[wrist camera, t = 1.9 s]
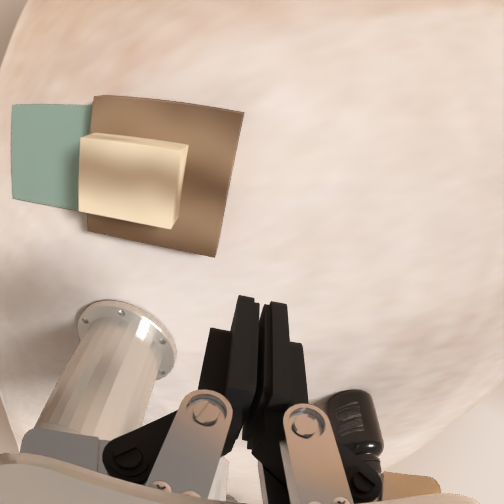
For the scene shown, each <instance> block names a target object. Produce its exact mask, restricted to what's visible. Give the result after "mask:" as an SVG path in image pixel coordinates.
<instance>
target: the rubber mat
mask: <svg viewBox="0 0 504 504" xmlns="http://www.w3.org/2000/svg"><path fill="white" fill-rule="evenodd" d="M92 109H93V106H89V105H63V104H20V105H13V108H12V128H11V169H12V189H13V198H14V199H20V200H25V201H30V202H35V203H41V204H46V205H51V206H56V207H61V208H66V209H71V210H77V211H79V155H80V138H81V137H84V136H87V135H90V129H91V119H92Z"/></svg>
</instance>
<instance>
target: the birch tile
mask: <svg viewBox="0 0 504 504" xmlns="http://www.w3.org/2000/svg"><path fill="white" fill-rule="evenodd" d="M188 146H189V145H187V144H181V143H174V142H168V141H161V140H154V139H147V138H139V137H131V136H123V135H114V134H104V133H93V134H90V135H87V136H84V137H81V138H80V155H79V211H80V212H85V213H90V214H95V215H101V216H106V217H111V218H116V219H121V220H126V221H131V222H136V223H141V224H146V225H151V226H156V227H161V228H166V229H171V228H172V227H173V225H174V223H175V222H176V220H177V219H178V216H179V208H180V200H181V193H182V186H183V178H184V172H185V165H186V158H187V152H188Z"/></svg>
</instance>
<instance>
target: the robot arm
mask: <svg viewBox="0 0 504 504" xmlns="http://www.w3.org/2000/svg"><path fill="white" fill-rule="evenodd" d="M259 306H260V304H259V303H255V302H254V298H251V297H246V296H241V295H239V296H238V300H237V304H236V309H235V313H234V317H233V322H232V326H231V330H230V331H226V330H221V329H216V328H210V332H209V337H208V342H207V347H206V352H205V356H204V361H203V366H202V371H201V376H200V381H199V386H198V390H196V391H193V392H191V393H189V394H188V395H186V396H185V398H184V399H183V400H182V402H181V404H180V407H179V409H178V410H177V411H175V412H173V413H171V414H168V415H166V416H164V417H162V418H160V419H158V420H156V421H153V422H151V423H149V424H147V425H145V426H142V427H141V425H142V422H143V418H144V415H145V412H146V409H147V405H148V402H149V399H150V396H151V392H152V389H153V386H154V383H155V380H159V379H161V378H163V377H165V376H167V375H168V374H169V373H170V372H171V370H172V368H173V367H174V364H175V360H176V347H175V343H174V341H173V339H172V337H171V335H170V334H169V332H168V331H167V329H166V328H165V327H164V326H163V325H162V324H161V323H160V322H159V321H158V320H156V319H155V318H154V317H153V316H151V315H150V314H148V313H147V312H145V311H143V310H142V309H140V308H137V307H135V306H133V305H130V304H127V303H124V302H119V301H112V300H110V301H100V302H96V303H93V304H92V305H90V306H88V307H87V308H86V309H85V310H84V312H83V313H82V314H81V316H80V318H79V321H78V325H77V331H78V336H79V339H80V343H79V345H78V347H77V348H76V350H75V352H74V353H73V355H72V357H71V359H70V360H69V362H68V364H67V366H66V368H65V369H64V371H63V373H62V375H61V377H60V378H59V380H58V382H57V384H56V386H55V388H54V389H53V391H52V393H51V395H50V397H49V399H48V401H47V403H46V405H45V407H44V409H43V411H42V413H41V415H40V417H39V419H38V421H37V423H36V425H35V427H34V429H31V430H29V431H28V432H27V433H26V434H25V435H24V437H23V440H22V444H21V449H20V453H3V454H0V504H246V503H236V502H227V501H219V500H212V499H208V496H209V493H210V489H211V486H212V483H213V480H214V476H215V473H216V470H217V467H218V463H219V460H220V458H221V457H223V456H224V455H226V454H227V453H229V452H231V450H232V448H233V445H234V443H235V440H236V439H237V438H238V436H239V433H240V431H241V428H242V426H243V431H242V440H245V441H247V449H251V450H252V455H253V456H254V457H255V458H256V459H257V460H258V471H259V478H260V485H261V492H262V499H263V504H480V503H479V502H477V501H475V500H474V499H472V498H469V497H466V496H462V495H458V494H450V493H447V494H446V493H441V489H440V485H439V484H438V483H437V481H436V480H435V479H433V478H431V477H428V476H418V475H407V474H399V473H391V472H383V473H382V474H381V473H377V472H376V471H375V470H374V469H373V468H372V467H371V466H369V465H368V464H367V463H365V462H364V461H363V460H362V459H360V458H359V457H358V456H356V455H355V454H354V453H353V452H351V451H350V450H349V449H348V448H346V447H345V446H344V445H343V444H341V443H340V442H339V441H338V440H336V439H335V437H334V434H333V430H332V427H331V424H330V421H329V419H328V417H327V415H326V414H325V413H324V412H323V411H322V410H321V409H319V408H318V407H316V406H313V405H311V404H309V403H308V393H307V383H306V373H305V363H304V354H303V347H302V344H301V343H295V342H290V338H289V324H288V311H287V304H283V303H278V302H273V301H271V302H270V305H266V304H264V307H263V310H262V313H261V317H260V320H259Z"/></svg>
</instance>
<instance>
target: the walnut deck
mask: <svg viewBox="0 0 504 504" xmlns="http://www.w3.org/2000/svg"><path fill="white" fill-rule="evenodd" d="M243 117H244V112H239V111H233V110H228V109H222V108H216V107H210V106H204V105H197V104H191V103H183V102H176V101H167V100H159V99H149V98H138V97H126V96H111V95H102V96H94V101H93V109H92V119H91V129H90V134H93V133H104V134H114V135H123V136H131V137H139V138H147V139H154V140H161V141H168V142H174V143H181V144H187V145H189V146H188V152H187V158H186V165H185V172H184V178H183V186H182V193H181V200H180V208H179V216H178V219H177V220H176V222H175V223H174V225H173V227H172V228H171V229H166V228H161V227H156V226H151V225H146V224H141V223H136V222H131V221H126V220H121V219H116V218H111V217H106V216H101V215H95V214H90V213H87V226H88V231H91V232H95V233H100V234H104V235H109V236H114V237H118V238H123V239H128V240H133V241H137V242H142V243H147V244H152V245H156V246H161V247H166V248H171V249H175V250H180V251H185V252H190V253H195V254H200V255H205V256H210V257H214V258H215V255H216V252H217V248H218V243H219V238H220V232H221V227H222V222H223V216H224V211H225V206H226V200H227V195H228V190H229V185H230V180H231V175H232V170H233V165H234V160H235V155H236V150H237V145H238V140H239V135H240V131H241V126H242V121H243Z"/></svg>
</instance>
